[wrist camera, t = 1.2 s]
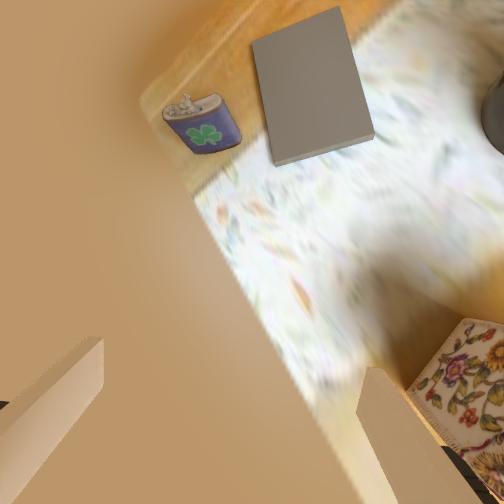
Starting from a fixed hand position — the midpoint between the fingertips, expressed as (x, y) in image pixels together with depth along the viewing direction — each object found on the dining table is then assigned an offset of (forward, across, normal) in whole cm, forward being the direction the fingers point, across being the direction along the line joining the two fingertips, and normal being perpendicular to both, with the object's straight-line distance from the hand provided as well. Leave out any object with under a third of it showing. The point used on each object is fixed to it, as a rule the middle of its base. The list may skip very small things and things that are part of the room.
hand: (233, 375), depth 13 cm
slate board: (+33, +6, +26) cm, 42 cm away
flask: (+35, -7, +16) cm, 39 cm away
